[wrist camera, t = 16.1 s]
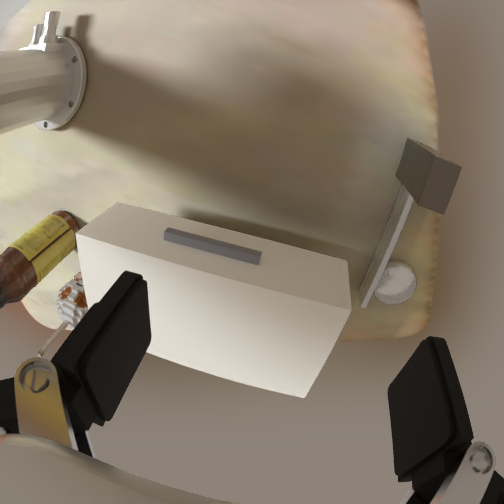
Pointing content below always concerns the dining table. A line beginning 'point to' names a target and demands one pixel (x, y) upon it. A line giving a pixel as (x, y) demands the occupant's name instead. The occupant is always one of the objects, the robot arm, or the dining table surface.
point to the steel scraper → (413, 188)
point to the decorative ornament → (69, 308)
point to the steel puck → (396, 283)
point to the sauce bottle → (35, 255)
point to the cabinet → (222, 295)
